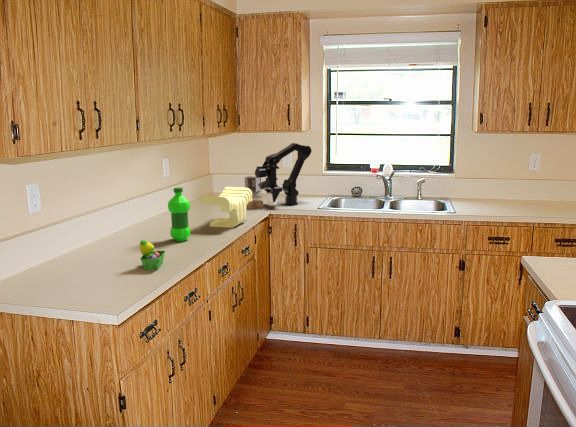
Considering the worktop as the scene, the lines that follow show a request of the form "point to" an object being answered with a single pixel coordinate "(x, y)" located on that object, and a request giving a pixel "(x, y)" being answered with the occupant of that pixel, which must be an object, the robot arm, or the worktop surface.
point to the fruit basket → (150, 256)
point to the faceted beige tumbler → (270, 199)
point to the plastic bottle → (179, 216)
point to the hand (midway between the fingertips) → (272, 201)
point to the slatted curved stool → (230, 205)
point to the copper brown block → (255, 204)
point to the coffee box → (253, 186)
